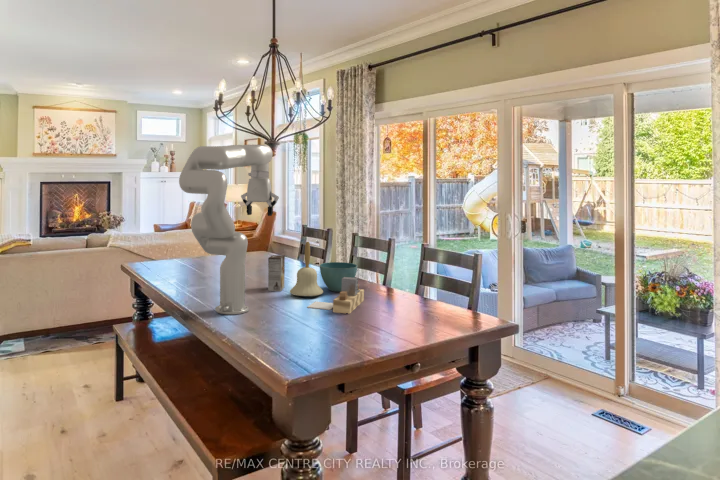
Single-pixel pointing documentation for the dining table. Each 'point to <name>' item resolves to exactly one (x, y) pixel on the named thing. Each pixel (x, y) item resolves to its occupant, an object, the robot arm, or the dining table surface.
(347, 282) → the tall grey box
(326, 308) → the mat
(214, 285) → the dining table surface
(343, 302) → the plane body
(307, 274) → the handbell
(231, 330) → the dining table surface
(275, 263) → the coffee box
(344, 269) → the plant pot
